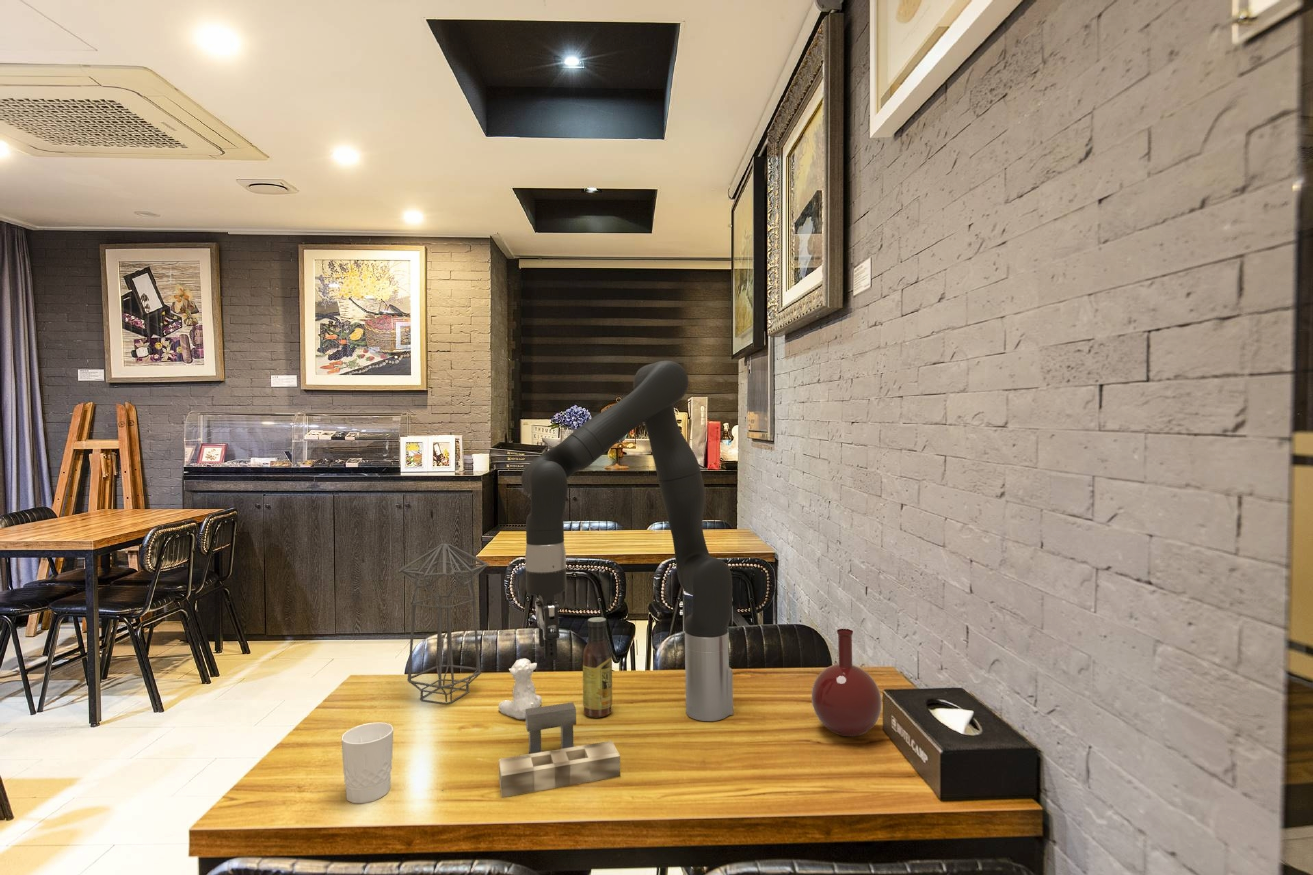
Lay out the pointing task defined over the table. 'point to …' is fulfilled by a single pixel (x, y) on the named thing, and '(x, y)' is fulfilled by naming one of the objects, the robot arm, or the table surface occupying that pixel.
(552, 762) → the rail
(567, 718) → the grey notched block
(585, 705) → the sauce bottle
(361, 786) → the white cup
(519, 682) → the seated beast figurine
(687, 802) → the table surface
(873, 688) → the round-bottom flask
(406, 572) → the geometric lantern
